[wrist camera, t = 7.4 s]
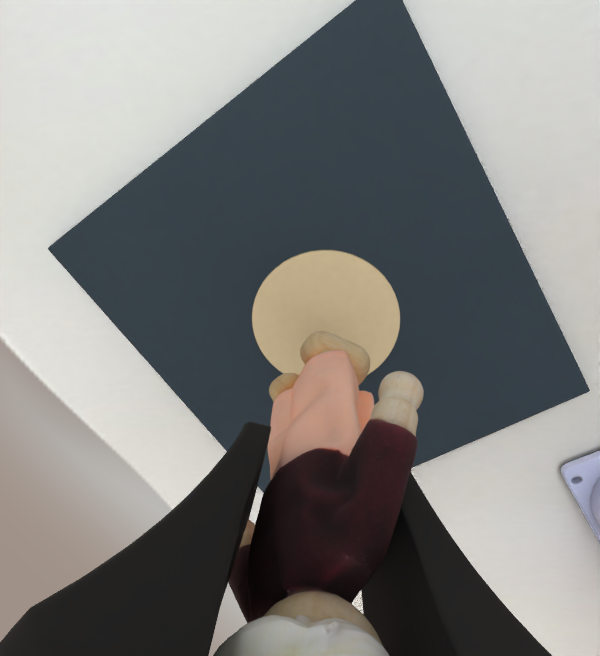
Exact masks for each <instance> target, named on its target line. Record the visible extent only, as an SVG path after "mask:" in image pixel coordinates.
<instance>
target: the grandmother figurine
mask: <svg viewBox="0 0 600 656" xmlns="http://www.w3.org/2000/svg"><path fill="white" fill-rule="evenodd" d="M300 356H301V359H302V361H303V362H304V363H305V366H304V368H303V369H302V371H301V373H300V375H298V374H295V373H284V374H282V375H280V376H279V377H277V378H276V379H275V380H274V381H272V383H271V384H270V387H269V394H270V396H271V398H272V400H273V402H274V403H273V408H272V415H271V423H270V426H271V431H270V437H269V442H268V457H269V463H270V477H271V481H270V482H269V484H268V486H267V488H266V489H265V491H264V495H263V498H262V501H261V505H260V510H259V514H258V517H257V520H256V524H254V523H253V522H251V521H250V520H248V523H247V526H246V529H245V532H244V535H243V538H242V541H241V544H240V547H239V550H238V553H237V556H236V559H235V562H234V565H233V568H232V571H231V574H230V577H229V580H228V582H229V585H230V587H231V589H232V591H233V593H234V595H235V598H236V600H237V602H238V604H239V606H240V609H241V611H242V613H243V615H244V617H245V619H246V621H247V624H246V625H244V626H243V627H242V628H240V629H239V630H238V631H237V632H236V633H234V634H233V635H232V636H230V637H229V638H228V639H227V640H226V641H225V642H224V643H222V645H220V646H219V648H218V649H217V651H216V652H215V654H214V655H213V656H389V654H388V653H387V651H386V650H385V649H384V647H383V645H382V643H381V641H380V639H379V637H378V634H377V632H376V631H375V629H374V628H373V626H372V625H371V623H370V622H369V621H368V619H367V618H366V617H365V616H364V615H363V614H362V613H361V612H360V611H359V610H357V609H356V608H355V607H354V606H353V605H352V601H353V600H354V598H355V597H356V596H357V594H358V593H359V591H360V590H362V588H363V587H364V586H365V584H366V583H367V582H368V581H369V580H370V579H371V577H372V576H373V574H374V573H375V572H376V570H377V569H378V567H379V566H380V564H381V563H382V561H383V560H384V557H385V555H386V553H387V550H388V547H389V544H390V541H391V538H392V535H393V531H394V528H395V525H396V522H397V518H398V515H399V512H400V509H401V505H402V501H403V498H404V494H405V491H406V486H407V482H408V478H409V475H410V472H411V469H412V466H413V464H414V461H415V455H416V450H417V444H418V442H417V438H416V429H417V424H418V415H417V412H416V410H417V409H418V408H419V406H420V404H421V402H422V400H423V394H424V390H423V387H422V384H421V383H420V381H419V380H418V379H417V378H416V377H415V376H414V375H413V374H411V373H408V372H404V371H395V372H392V373H390V374H388V375H387V376H385V378H384V379H383V380H382V382H381V383H380V387H379V391H378V396H379V402H378V403H376V404H375V406H374V397H373V395H372V393H370V392H367V391H359V386H358V385H360V384H361V383H362V382H363V380H364V379H365V378H366V376H367V374H368V372H369V369H370V357H369V355H368V353H367V352H366V350H365V349H364V348H362V347H361V346H359V345H357V344H355V343H353V342H351V341H348V340H346V339H343V338H341V337H339V336H337V335H335V334H332V333H329V332H326V331H318V332H314V333H312V334H311V335H309V336H308V337H307V339H306V340H305V341H304V343H303V345H302V346H301V349H300Z"/></svg>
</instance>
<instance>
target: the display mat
mask: <svg viewBox="0 0 600 656" xmlns="http://www.w3.org/2000/svg"><path fill="white" fill-rule="evenodd" d="M48 250H49V251H50V252H51V253H52V254H53V255H54V256H55V257H56V259H57V260H58V261H59V262H60V263H61V264H62V265H63V267H64V268H65V269H66V270H67V271H68V272H69V273H70V274H71V276H72V277H73V278H74V279H75V280H76V281H77V282H78V283H79V285H80V286H81V287H82V288H83V289H84V290H85V291H86V293H87V294H88V295H89V296H90V297H91V298H92V299H93V300H94V302H95V303H96V304H97V305H98V306H99V307H100V308H101V309H102V311H103V312H104V313H105V314H106V315H107V316H108V317H109V319H110V320H111V321H112V322H113V323H114V324H115V325H116V326H117V328H118V329H119V330H120V331H121V332H122V333H123V334H124V335H125V337H126V338H127V339H128V340H129V341H130V342H131V343H132V344H133V346H134V347H135V348H136V349H137V350H138V351H139V352H140V354H141V355H142V356H143V357H144V358H145V359H146V360H147V361H148V363H149V364H150V365H151V366H152V367H153V368H154V369H155V370H156V372H157V373H158V374H159V375H160V376H161V377H162V378H163V380H164V381H165V382H166V383H167V384H168V385H169V386H170V387H171V389H172V390H173V391H174V392H175V393H176V394H177V395H178V396H179V398H180V399H181V400H182V401H183V402H184V403H185V404H186V406H187V407H188V408H189V409H190V410H191V411H192V412H193V413H194V415H195V416H196V417H197V418H198V419H199V420H200V421H201V422H202V424H203V425H204V426H205V427H206V428H207V429H208V430H209V432H210V433H211V434H212V435H213V436H214V437H215V438H216V439H217V441H218V442H219V443H220V444H221V445H222V446H223V447H224V448H225V450H226V451H228V450H229V448H230V447H231V446H232V444H233V443H234V441H235V440H236V438H237V437H238V435H239V434H240V432H241V430H242V428H243V426H244V424H245V423H247V422H249V421H250V422H254V423H258V424H262V425H266V426H270V423H271V415H272V408H273V403H274V402H273V400H272V398H271V396H270V394H269V387H270V384H271V383H272V381H274V380H275V379H276V378H277V377H279V376H280V375H282V374H284V373H295V374H298V375H300V373H301V371H302V369H303V368H304V366H305V363H304V362H303V361H302V359H301V356H300V349H301V346H302V345H303V343H304V341H305V340H306V339H307V337H308V336H309V335H311V334H312V333H314V332H318V331H326V332H329V333H332V334H335V335H337V336H339V337H341V338H343V339H346V340H348V341H351V342H353V343H355V344H357V345H359V346H361V347H362V348H364V349H365V350H366V352H367V353H368V355H369V357H370V369H369V372H368V374H367V376H366V378H365V379H364V380H363V382H362V383H361V384H360V385H358V386H359V391H367V392H370V393H372V395H373V397H374V406H375V404H376V403H378V402H379V396H378V391H379V387H380V383H381V382H382V380H383V379H384V378H385V376H387V375H388V374H390V373H392V372H395V371H404V372H408V373H411V374H413V375H414V376H415V377H416V378H417V379H418V380H419V381H420V383H421V384H422V387H423V390H424V394H423V400H422V402H421V404H420V406H419V408H418V409H417V410H416V412H417V415H418V424H417V429H416V438H417V442H418V444H417V450H416V455H415V461H414V464H413V466H412V467H415V466H417V465H419V464H422V463H424V462H426V461H429V460H431V459H433V458H436V457H438V456H440V455H443V454H445V453H447V452H449V451H452V450H454V449H456V448H459V447H461V446H463V445H466V444H468V443H470V442H473V441H475V440H477V439H480V438H482V437H484V436H487V435H489V434H491V433H494V432H496V431H498V430H501V429H503V428H505V427H508V426H510V425H512V424H515V423H517V422H519V421H521V420H524V419H526V418H528V417H531V416H533V415H535V414H538V413H540V412H542V411H545V410H547V409H549V408H552V407H554V406H556V405H559V404H561V403H563V402H566V401H568V400H570V399H573V398H575V397H577V396H580V395H582V394H584V393H587V392H589V391H590V390H589V388H588V386H587V384H586V382H585V379H584V377H583V375H582V373H581V371H580V369H579V367H578V365H577V363H576V361H575V359H574V357H573V354H572V352H571V350H570V348H569V346H568V344H567V342H566V340H565V338H564V336H563V334H562V332H561V330H560V327H559V325H558V323H557V321H556V319H555V317H554V315H553V313H552V311H551V309H550V307H549V305H548V302H547V300H546V298H545V296H544V294H543V292H542V290H541V288H540V286H539V284H538V282H537V280H536V278H535V275H534V273H533V271H532V269H531V267H530V265H529V263H528V261H527V259H526V257H525V255H524V253H523V250H522V248H521V246H520V244H519V242H518V240H517V238H516V236H515V234H514V232H513V230H512V228H511V226H510V223H509V221H508V219H507V217H506V215H505V213H504V211H503V209H502V207H501V205H500V203H499V201H498V199H497V196H496V194H495V192H494V190H493V188H492V186H491V184H490V182H489V180H488V178H487V176H486V174H485V171H484V169H483V167H482V165H481V163H480V161H479V159H478V157H477V155H476V153H475V151H474V149H473V147H472V144H471V142H470V140H469V138H468V136H467V134H466V132H465V130H464V128H463V126H462V124H461V122H460V119H459V117H458V115H457V113H456V111H455V109H454V107H453V105H452V103H451V101H450V99H449V97H448V95H447V92H446V90H445V88H444V86H443V84H442V82H441V80H440V78H439V76H438V74H437V72H436V70H435V67H434V65H433V63H432V61H431V59H430V57H429V55H428V53H427V51H426V49H425V47H424V45H423V43H422V40H421V38H420V36H419V34H418V32H417V30H416V28H415V26H414V24H413V22H412V20H411V18H410V15H409V13H408V11H407V9H406V7H405V5H404V3H403V1H402V0H356V1H354V2H353V3H352V4H351V5H349V6H348V7H347V8H346V9H344V10H343V11H342V12H341V13H339V14H338V15H337V16H336V17H334V18H333V19H332V20H331V21H329V22H328V23H327V24H326V25H324V26H323V27H322V28H321V29H319V30H318V31H317V32H316V33H315V34H313V35H312V36H311V37H310V38H308V39H307V40H306V41H305V42H303V43H302V44H301V45H300V46H298V47H297V48H296V49H295V50H293V51H292V52H291V53H290V54H288V55H287V56H286V57H285V58H283V59H282V60H281V61H280V62H278V63H277V64H276V65H275V66H274V67H272V68H271V69H270V70H269V71H267V72H266V73H265V74H264V75H262V76H261V77H260V78H259V79H257V80H256V81H255V82H254V83H252V84H251V85H250V86H249V87H247V88H246V89H245V90H244V91H242V92H241V93H240V94H239V95H237V96H236V97H235V98H234V99H232V100H231V101H230V102H229V103H228V104H226V105H225V106H224V107H223V108H221V109H220V110H219V111H218V112H216V113H215V114H214V115H213V116H211V117H210V118H209V119H208V120H206V121H205V122H204V123H203V124H201V125H200V126H199V127H198V128H196V129H195V130H194V131H193V132H191V133H190V134H189V135H188V136H187V137H185V138H184V139H183V140H182V141H180V142H179V143H178V144H177V145H175V146H174V147H173V148H172V149H170V150H169V151H168V152H167V153H165V154H164V155H163V156H162V157H160V158H159V159H158V160H157V161H155V162H154V163H153V164H152V165H150V166H149V167H148V168H147V169H146V170H144V171H143V172H142V173H141V174H139V175H138V176H137V177H136V178H134V179H133V180H132V181H131V182H129V183H128V184H127V185H126V186H124V187H123V188H122V189H121V190H119V191H118V192H117V193H116V194H114V195H113V196H112V197H111V198H109V199H108V200H107V201H106V202H104V203H103V204H102V205H101V206H100V207H98V208H97V209H96V210H95V211H93V212H92V213H91V214H90V215H88V216H87V217H86V218H85V219H83V220H82V221H81V222H80V223H78V224H77V225H76V226H75V227H73V228H72V229H71V230H70V231H68V232H67V233H66V234H65V235H63V236H62V237H61V238H60V239H59V240H57V241H56V242H55V243H54V244H52V245H51V246H50V247H49V248H48ZM270 481H271V477H270V463H269V457H268V446H267V450H266V454H265V458H264V462H263V465H262V469H261V473H260V477H259V481H258V485H257V486H258V487H259V488H260V489H261V490H262V491H263V493H264V491H265V489H266V488H267V486H268V484H269V482H270Z"/></svg>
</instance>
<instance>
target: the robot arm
mask: <svg viewBox="0 0 600 656" xmlns="http://www.w3.org/2000/svg"><path fill="white" fill-rule="evenodd" d="M270 431H271V426H266V425H262V424H258V423H254V422H250V421H249V422H247V423H245V424H244V426H243V428H242V430H241V432H240V434H239V435H238V437H237V438H236V440H235V441H234V443H233V444H232V446H231V447H230V448H229V450H228V451H227V452H226V454H225V455H224V456H223V457H222V459H221V460H220V461H219V462H218V463H217V465H216V466H215V467H214V468H213V469H212V471H211V472H210V473H209V474H208V475H207V476H206V477H205V478H204V479H203V480H202V481H201V482H200V484H199V485H198V486H197V487H196V488H195V489H194V490H193V491H192V492H191V493H190V494H189V495H188V496H187V497H186V498H185V499H184V500H183V501H182V502H181V503H180V504H179V505H177V506H176V507H175V508H174V509H173V510H172V511H171V512H170V513H169V514H167V515H166V516H165V517H164V518H163V519H162V520H161V521H159V522H158V523H157V524H156V525H154V526H153V527H152V528H151V529H149V530H148V531H147V532H146V533H144V534H143V535H142V536H141V537H139V538H138V539H137V540H136V541H135V542H133V543H132V544H130V545H129V546H128V547H126V548H125V549H123V550H122V551H121V552H119V553H118V554H116V555H115V556H113V557H112V558H110V559H109V560H107V561H106V562H104V563H103V564H101V565H100V566H99V567H97V568H96V569H94V570H93V571H91V572H90V573H88V574H87V575H85V576H83V577H82V578H80V579H79V580H77V581H75V582H74V583H72V584H70V585H68V586H67V587H65V588H63V589H62V590H60V591H58V592H57V593H55V594H53V595H52V596H50V597H48V598H47V599H45V600H43V601H41V602H40V603H38V604H36V605H35V606H33V607H31V608H30V609H29V610H28V611H27V612H26V613H25V614H24V615H23V617H22V618H21V619H20V620H19V621H18V622H17V623H16V624H15V625H14V627H13V628H12V629H11V630H10V631H9V633H8V634H7V635H6V636H5V638H4V639H3V640H2V641H1V642H0V656H208V654H209V650H210V646H211V642H212V638H213V634H214V630H215V625H216V621H217V617H218V613H219V609H220V605H221V602H222V599H223V596H224V593H225V589H226V587H227V583H228V580H229V577H230V574H231V571H232V568H233V565H234V562H235V559H236V556H237V553H238V550H239V547H240V544H241V541H242V538H243V535H244V532H245V529H246V526H247V523H248V520H249V516H250V512H251V508H252V504H253V501H254V497H255V493H256V489H257V485H258V481H259V477H260V473H261V469H262V465H263V462H264V458H265V454H266V450H267V446H268V442H269V437H270ZM560 471H561V474H562V476H563V478H564V479H565V481H566V483H567V485H568V487H569V488H570V490H571V492H572V494H573V496H574V498H575V499H576V501H577V503H578V505H579V507H580V508H581V510H582V512H583V514H584V516H585V517H586V519H587V521H588V523H589V525H590V526H591V528H592V530H593V532H594V534H595V535H596V537H597V539H598V541H599V543H600V450H599V451H597V452H594V453H591V454H589V455H586V456H584V457H581V458H579V459H576V460H574V461H571V462H568V463H566V464H564V465H563V466H562V467H561V470H560ZM574 477H576V478H574ZM572 478H573V479H572ZM362 600H363V611H364V616H365V617H366V618H367V619H368V621H369V622H370V623H371V625H372V626H373V628H374V629H375V631H376V632H377V634H378V637H379V639H380V641H381V643H382V645H383V647H384V649H385V650H386V651H387V653H388V654H389V656H552V655H551V654H550V653H549V652H548V651H547V650H546V649H545V648H544V647H543V646H542V645H541V644H540V643H539V642H538V641H537V640H536V639H535V638H534V637H533V636H532V635H531V634H530V632H529V631H528V630H527V629H526V628H525V627H524V626H523V625H522V624H521V623H520V622H519V621H518V620H517V619H516V617H515V616H514V615H513V614H512V613H511V612H510V611H509V610H508V609H507V607H506V606H505V605H504V604H503V603H502V602H501V601H500V599H499V598H498V597H497V596H496V595H495V593H494V592H493V591H492V590H491V588H490V587H489V586H488V585H487V584H486V582H485V581H484V580H483V579H482V577H481V576H480V575H479V574H478V573H477V571H476V570H475V569H474V567H473V566H472V565H471V563H470V562H469V561H468V559H467V558H466V557H465V555H464V554H463V552H462V551H461V550H460V548H459V547H458V546H457V544H456V543H455V541H454V540H453V539H452V537H451V536H450V534H449V533H448V531H447V530H446V528H445V527H444V525H443V524H442V522H441V521H440V519H439V518H438V516H437V515H436V513H435V511H434V510H433V508H432V507H431V505H430V503H429V502H428V500H427V499H426V497H425V495H424V494H423V492H422V490H421V489H420V487H419V485H418V484H417V482H416V480H415V479H414V477H413V475H412V474H411V472H410V475H409V478H408V482H407V486H406V491H405V494H404V498H403V501H402V505H401V509H400V512H399V515H398V518H397V522H396V525H395V528H394V531H393V535H392V538H391V541H390V544H389V547H388V550H387V553H386V555H385V557H384V560H383V561H382V563H381V564H380V566H379V567H378V569H377V570H376V572H375V573H374V574H373V576H372V577H371V579H370V580H369V581H368V582H367V583H366V584H365V586H364V587H363V588H362Z"/></svg>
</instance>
